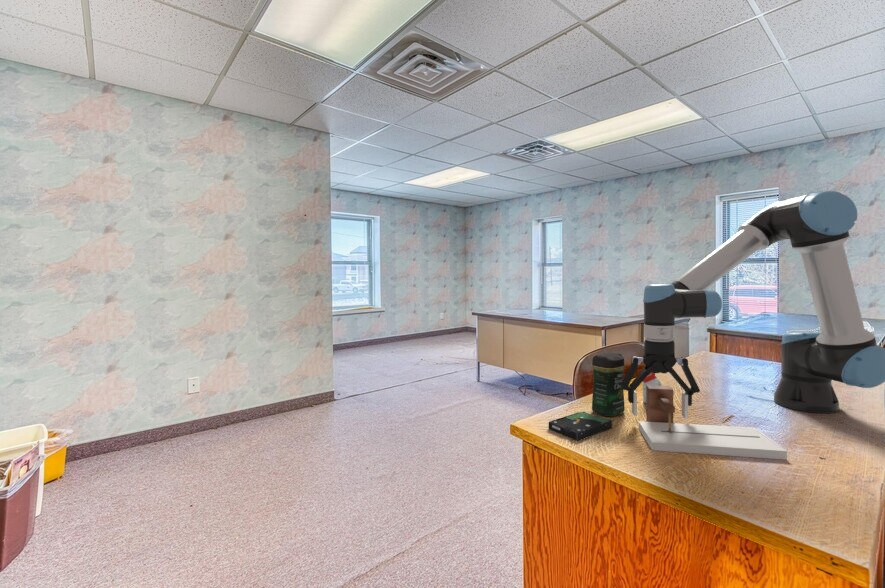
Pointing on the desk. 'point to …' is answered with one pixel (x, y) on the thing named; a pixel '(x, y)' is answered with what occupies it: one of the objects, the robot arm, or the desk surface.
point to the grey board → (710, 440)
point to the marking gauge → (659, 404)
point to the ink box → (650, 383)
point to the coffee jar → (608, 384)
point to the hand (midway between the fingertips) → (659, 415)
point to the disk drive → (580, 425)
